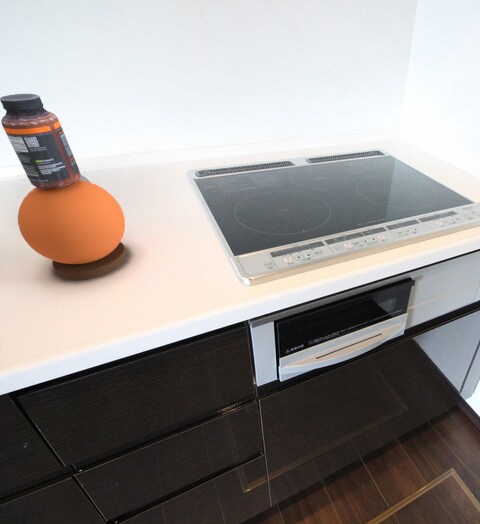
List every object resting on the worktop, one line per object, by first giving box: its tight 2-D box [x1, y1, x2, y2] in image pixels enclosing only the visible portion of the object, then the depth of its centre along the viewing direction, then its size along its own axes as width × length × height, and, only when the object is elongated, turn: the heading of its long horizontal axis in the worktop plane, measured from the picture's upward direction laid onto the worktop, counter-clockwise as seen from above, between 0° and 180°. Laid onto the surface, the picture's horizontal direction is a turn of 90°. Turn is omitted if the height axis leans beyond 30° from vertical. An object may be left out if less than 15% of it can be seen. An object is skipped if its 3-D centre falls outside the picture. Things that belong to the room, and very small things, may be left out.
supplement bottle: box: [0, 93, 82, 189], centre depth 48 cm, size 6×6×11 cm
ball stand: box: [17, 180, 128, 281], centre depth 56 cm, size 13×13×14 cm
